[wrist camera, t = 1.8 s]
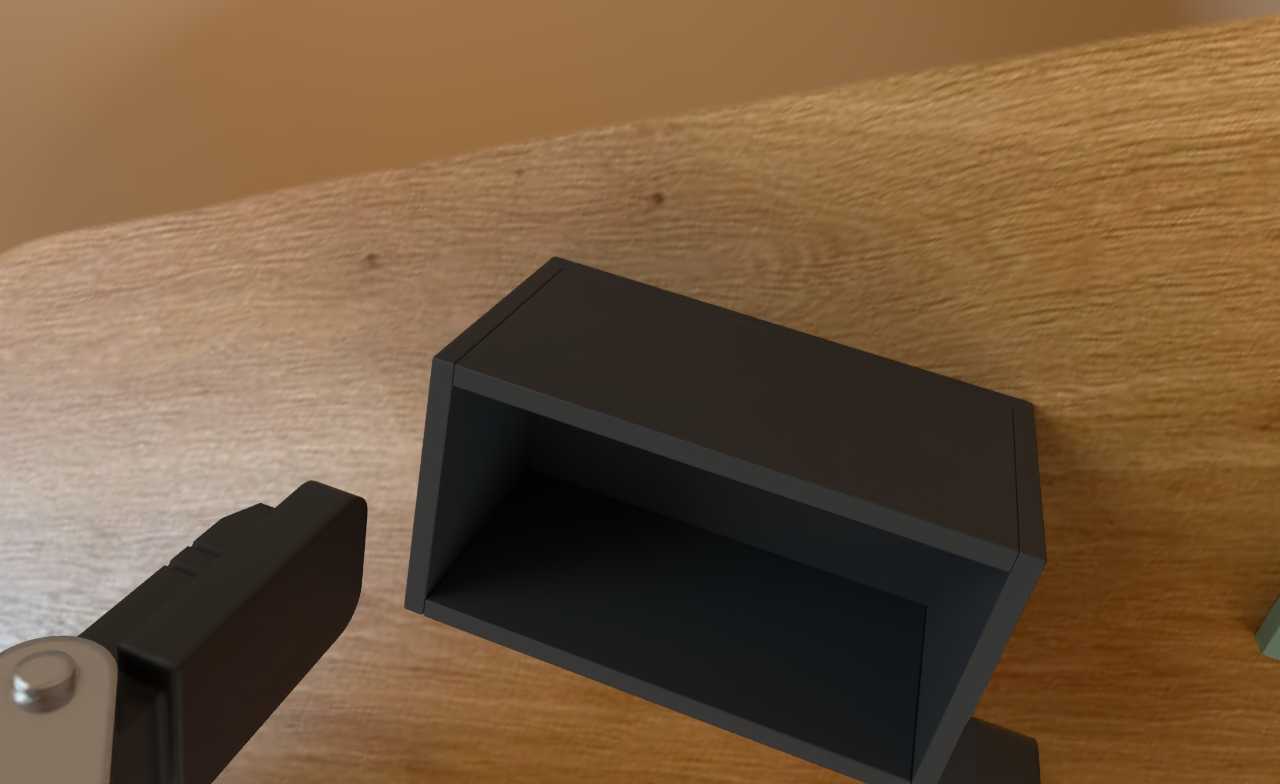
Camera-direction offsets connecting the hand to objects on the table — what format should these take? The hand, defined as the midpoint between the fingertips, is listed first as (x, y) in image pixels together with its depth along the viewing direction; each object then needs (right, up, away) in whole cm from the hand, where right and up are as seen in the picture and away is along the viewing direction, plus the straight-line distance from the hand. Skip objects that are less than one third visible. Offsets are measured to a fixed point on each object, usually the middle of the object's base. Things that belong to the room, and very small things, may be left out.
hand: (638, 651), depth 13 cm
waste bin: (+5, +1, +30) cm, 31 cm away
